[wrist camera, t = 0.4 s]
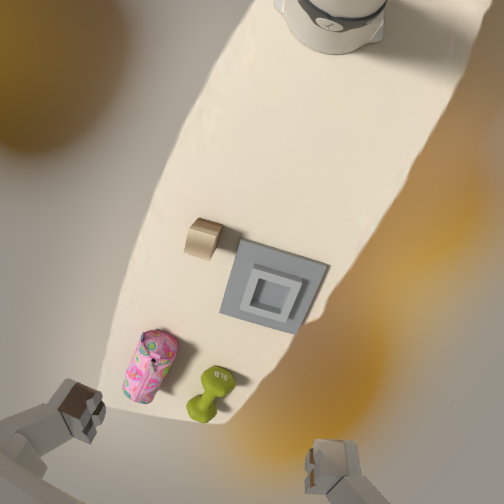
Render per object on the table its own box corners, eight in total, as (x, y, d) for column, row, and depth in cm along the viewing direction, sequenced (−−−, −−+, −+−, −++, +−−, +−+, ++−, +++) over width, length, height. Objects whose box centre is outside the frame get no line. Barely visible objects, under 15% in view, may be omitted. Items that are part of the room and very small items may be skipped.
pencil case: (150, 319, 65) (134, 344, 56) (186, 339, 65) (174, 366, 57) (128, 371, 73) (114, 394, 64) (158, 388, 74) (147, 412, 65)
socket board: (241, 237, 55) (238, 244, 52) (326, 263, 55) (328, 271, 52) (220, 309, 61) (217, 318, 58) (295, 331, 61) (296, 341, 58)
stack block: (198, 217, 54) (189, 228, 49) (222, 224, 54) (215, 236, 49) (193, 240, 56) (183, 252, 51) (216, 247, 56) (209, 260, 51)
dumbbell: (215, 407, 74) (210, 428, 68) (188, 396, 74) (181, 417, 67) (239, 372, 68) (235, 394, 61) (208, 359, 67) (201, 381, 61)
